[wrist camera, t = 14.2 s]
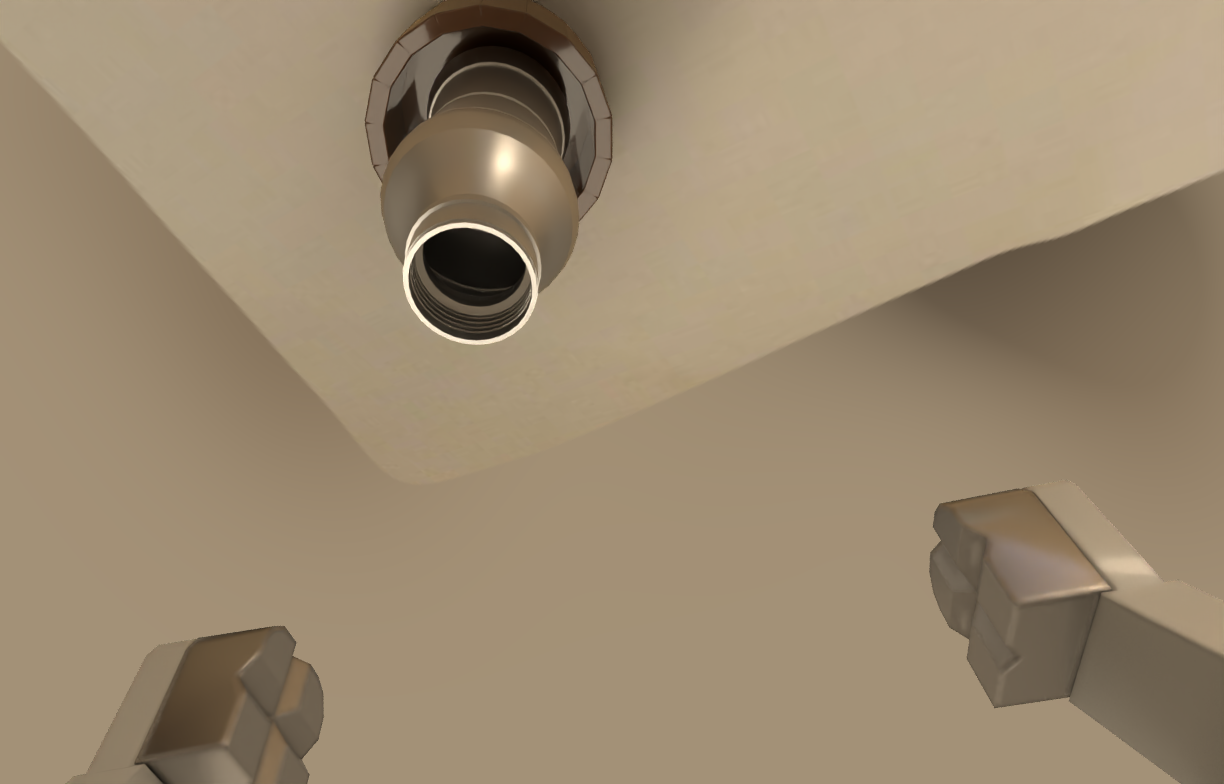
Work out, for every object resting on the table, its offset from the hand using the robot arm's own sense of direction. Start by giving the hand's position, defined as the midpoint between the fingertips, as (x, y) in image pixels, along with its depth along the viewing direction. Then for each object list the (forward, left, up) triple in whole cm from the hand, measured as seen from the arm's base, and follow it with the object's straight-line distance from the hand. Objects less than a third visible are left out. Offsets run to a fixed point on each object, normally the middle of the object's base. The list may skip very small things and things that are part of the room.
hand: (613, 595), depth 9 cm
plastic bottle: (+1, -3, -33) cm, 33 cm away
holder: (+1, -3, -33) cm, 33 cm away
